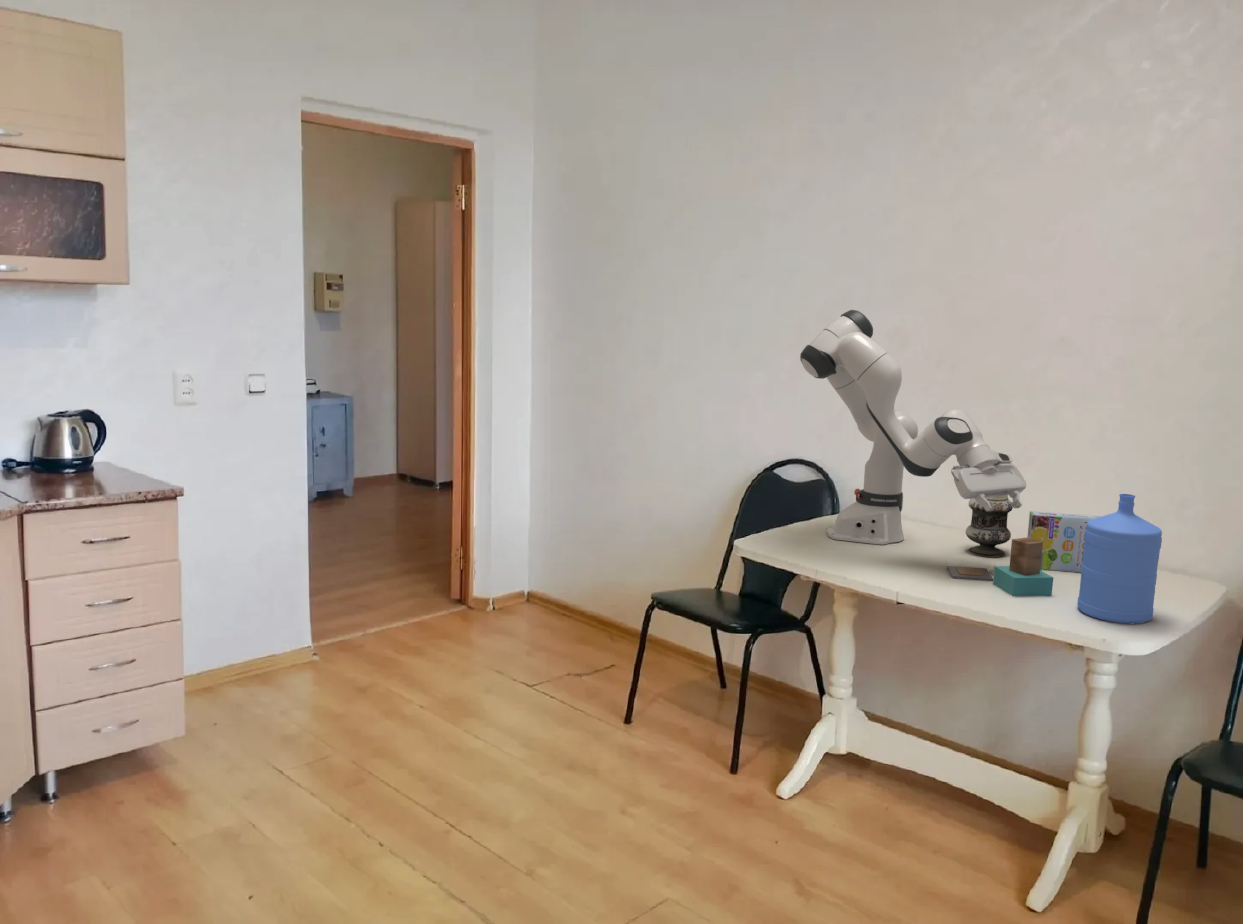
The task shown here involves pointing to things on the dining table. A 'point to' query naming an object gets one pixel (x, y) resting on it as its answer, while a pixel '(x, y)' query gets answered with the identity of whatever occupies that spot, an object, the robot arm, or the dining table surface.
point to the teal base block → (1022, 582)
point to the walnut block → (1025, 556)
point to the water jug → (1120, 566)
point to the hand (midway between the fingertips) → (1004, 508)
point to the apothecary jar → (989, 526)
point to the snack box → (1060, 538)
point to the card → (970, 573)
